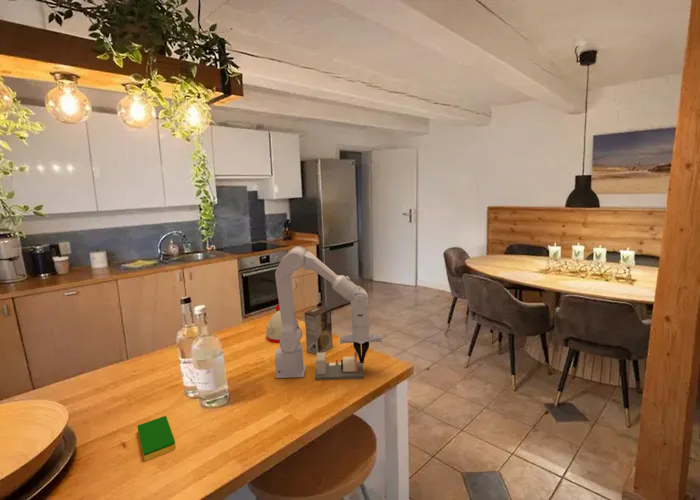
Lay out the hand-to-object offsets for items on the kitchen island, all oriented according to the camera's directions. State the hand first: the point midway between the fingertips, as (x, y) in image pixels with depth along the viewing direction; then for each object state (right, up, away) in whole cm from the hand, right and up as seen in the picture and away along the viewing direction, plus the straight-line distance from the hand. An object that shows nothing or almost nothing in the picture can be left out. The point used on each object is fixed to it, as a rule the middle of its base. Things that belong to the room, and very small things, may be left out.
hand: (361, 361), depth 129 cm
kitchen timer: (-33, +1, +33) cm, 47 cm away
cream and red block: (-4, -2, +1) cm, 5 cm away
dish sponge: (-55, -12, -31) cm, 64 cm away
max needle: (-9, -2, +4) cm, 10 cm away
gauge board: (-8, -4, +1) cm, 9 cm away
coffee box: (-16, -1, +19) cm, 25 cm away
